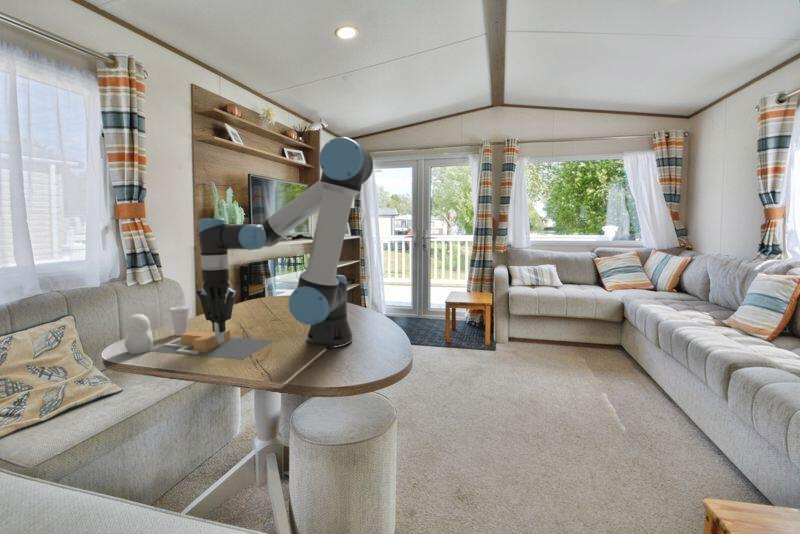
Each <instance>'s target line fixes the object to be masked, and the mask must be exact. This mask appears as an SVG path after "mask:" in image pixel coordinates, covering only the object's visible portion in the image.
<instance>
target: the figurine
mask: <svg viewBox="0 0 800 534" xmlns="http://www.w3.org/2000/svg"><path fill="white" fill-rule="evenodd" d="M150 322H151V321H150V319H149V318H148V317H147V316H146V315H144V314H142V313H136V314H132V315H130V316H129V317H128V318H127V319H126V322H125V335H124V346H125V347H124V348H125V349H126V350H127V352H128V353H129V354H130V355H138V354H145V353H148V351H150V350H153V344H154V340H153V338H154V337H153V332H152V329H151V323H150Z"/></svg>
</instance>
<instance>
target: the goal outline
mask: <svg viewBox="0 0 800 534" xmlns="http://www.w3.org/2000/svg"><path fill="white" fill-rule="evenodd" d="M231 337H232V336H231V335H230V339H231ZM179 341H181V338H180V337H179V338H177V339H174V340H171V341H170V342H166V343H164V344H163V345H164V346H167V347H179V348H181V349H179V350H176V352H178V353H189V354H199V351H189V350H186V349H188V348H190V346H189V345H176V344H174V343H176V342H179Z"/></svg>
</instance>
